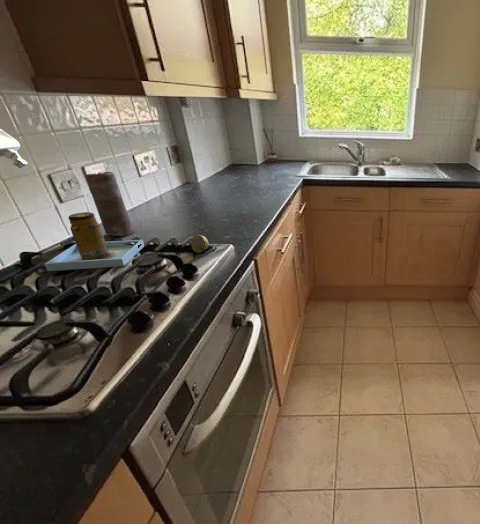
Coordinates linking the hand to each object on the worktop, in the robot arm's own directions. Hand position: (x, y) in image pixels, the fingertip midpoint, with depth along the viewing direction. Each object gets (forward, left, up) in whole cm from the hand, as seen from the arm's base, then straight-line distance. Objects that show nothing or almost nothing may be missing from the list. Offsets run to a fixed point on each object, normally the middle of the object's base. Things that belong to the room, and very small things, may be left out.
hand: (10, 168), depth 80 cm
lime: (+38, -1, -24) cm, 46 cm away
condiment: (+13, -1, -24) cm, 27 cm away
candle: (+9, +19, -24) cm, 32 cm away
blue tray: (+12, -1, -24) cm, 27 cm away
